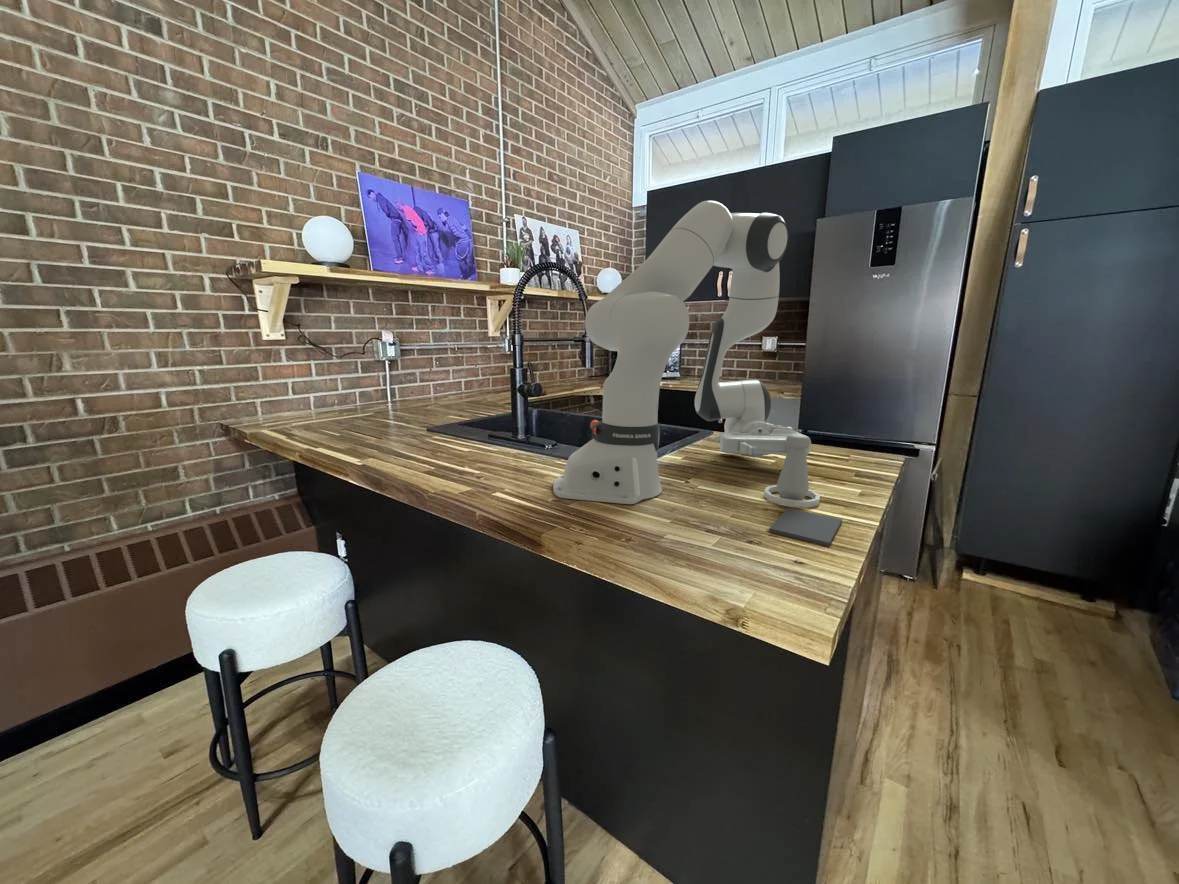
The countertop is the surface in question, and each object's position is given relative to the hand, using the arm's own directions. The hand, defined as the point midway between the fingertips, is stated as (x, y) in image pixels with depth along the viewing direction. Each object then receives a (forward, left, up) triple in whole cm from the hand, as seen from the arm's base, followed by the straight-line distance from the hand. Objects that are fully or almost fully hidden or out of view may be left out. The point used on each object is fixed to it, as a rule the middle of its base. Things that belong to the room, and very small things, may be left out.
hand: (774, 451), depth 103 cm
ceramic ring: (0, -11, -7) cm, 13 cm away
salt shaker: (0, -11, -7) cm, 13 cm away
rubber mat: (-3, -25, -7) cm, 26 cm away
